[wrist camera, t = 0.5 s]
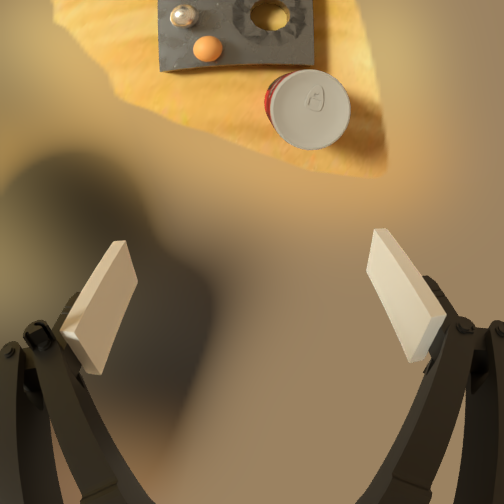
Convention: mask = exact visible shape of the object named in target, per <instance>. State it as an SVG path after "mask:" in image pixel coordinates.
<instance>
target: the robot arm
mask: <svg viewBox="0 0 504 504" xmlns="http://www.w3.org/2000/svg"><path fill="white" fill-rule="evenodd" d="M366 271H367V274H368V276H369V278H370V279H371V282H372V284H373V285H374V288H375V289H376V291H377V294H378V295H379V298H380V300H381V302H382V304H383V306H384V308H385V310H386V312H387V314H388V317H389V318H390V321H391V323H392V325H393V327H394V330H395V332H396V334H397V336H398V339H399V340H400V343H401V345H402V347H403V350H404V352H405V355H406V357H407V359H408V361H409V363H411V362H416V361H421V360H424V358H425V356H426V354H427V353H428V351H429V353H430V355H431V357H432V358H431V360H430V361H429V363H428V365H427V367H426V368H425V370H424V371H423V373H425V375H424V377H423V380H422V382H421V385H420V387H419V390H418V392H417V395H416V397H415V399H414V402H413V404H412V406H411V408H410V411H409V413H408V415H407V417H406V419H405V422H404V424H403V426H402V428H401V430H400V432H399V434H398V436H397V438H396V440H395V442H394V444H393V445H392V447H391V449H390V451H389V453H388V455H387V457H386V458H385V460H384V462H383V464H382V465H381V467H380V469H379V471H378V472H377V474H376V476H375V477H374V479H373V480H372V482H371V484H370V485H369V487H368V488H367V490H366V491H365V493H364V494H363V495H362V496H361V497H360V498H359V499H358V501H357V502H356V503H355V504H429V502H430V500H431V497H432V492H431V490H430V488H431V485H432V482H433V480H434V478H435V476H436V473H437V471H438V469H439V466H440V464H441V462H442V459H443V457H444V454H445V452H446V449H447V446H448V444H449V441H450V438H451V435H452V432H453V429H454V426H455V423H456V420H457V417H458V414H459V411H460V407H461V403H462V400H463V396H464V392H465V389H466V407H465V426H464V438H463V448H462V458H461V465H460V472H459V477H458V483H457V488H456V493H455V498H454V503H453V504H504V322H502V321H499V320H495V321H493V322H492V323H491V325H490V326H489V328H488V329H486V328H476V327H475V325H474V324H473V323H472V322H471V320H469V319H467V318H465V317H460V316H458V314H457V313H456V311H455V310H454V308H453V306H452V305H451V303H450V302H449V300H448V299H447V297H445V295H444V293H443V292H442V291H441V289H440V288H439V286H438V284H437V283H436V282H435V281H434V280H433V279H432V278H430V277H429V276H421V274H420V273H419V271H418V270H417V269H416V267H415V266H414V264H413V263H412V262H411V260H410V259H409V257H408V256H407V255H406V253H405V252H404V251H403V249H402V248H401V246H400V245H399V244H398V243H397V241H396V240H395V238H394V237H393V236H392V234H391V233H390V232H389V231H388V229H387V228H381V229H374V233H373V238H372V244H371V249H370V255H369V260H368V265H367V270H366ZM137 283H138V280H137V277H136V274H135V271H134V268H133V264H132V261H131V258H130V254H129V251H128V247H127V244H126V241H114V242H113V243H112V244H111V246H110V247H109V249H108V250H107V252H106V253H105V255H104V256H103V258H102V259H101V261H100V262H99V264H98V265H97V267H96V269H95V270H94V272H93V274H92V275H91V277H90V278H89V280H88V282H87V283H86V285H85V286H84V288H83V290H82V291H81V292H77V293H76V294H74V295H73V296H72V297H71V298H70V299H69V301H68V302H67V304H66V306H65V308H64V309H63V311H62V314H60V316H59V318H58V319H57V322H56V323H55V325H54V327H53V328H52V330H51V329H50V328H49V326H48V325H47V323H46V321H43V320H37V321H35V322H32V323H31V324H30V325H28V327H27V328H26V329H25V331H24V333H23V338H24V340H25V341H26V343H27V344H28V346H29V348H23V349H22V348H21V346H20V345H19V344H18V342H15V341H12V342H9V343H7V344H5V345H4V346H3V348H2V349H1V351H0V504H63V499H62V495H61V491H60V487H59V481H58V477H57V471H56V466H55V459H54V453H53V445H52V437H51V429H50V419H51V422H52V425H53V428H54V431H55V434H56V437H57V439H58V442H59V445H60V447H61V449H62V452H63V455H64V457H65V459H66V462H67V464H68V466H69V469H70V471H71V473H72V475H73V477H74V479H75V481H76V483H77V486H78V487H79V489H80V492H81V494H82V499H81V500H80V504H155V503H154V502H153V501H152V500H151V499H150V497H149V496H148V495H147V494H146V492H145V491H144V489H143V488H142V486H141V485H140V483H139V482H138V481H137V479H136V477H135V476H134V474H133V473H132V471H131V470H130V468H129V467H128V465H127V463H126V462H125V460H124V458H123V457H122V455H121V453H120V452H119V450H118V448H117V447H116V445H115V443H114V441H113V440H112V438H111V436H110V434H109V432H108V430H107V428H106V426H105V424H104V423H103V421H102V419H101V417H100V415H99V413H98V410H97V409H96V406H95V405H94V402H93V400H92V398H91V396H90V393H89V391H88V389H87V387H86V384H85V382H84V380H83V377H82V376H81V374H80V373H79V371H80V368H81V366H82V367H83V368H84V369H85V371H86V372H87V373H90V374H96V375H101V374H102V371H103V368H104V366H105V363H106V360H107V357H108V355H109V352H110V349H111V346H112V344H113V341H114V339H115V336H116V334H117V331H118V328H119V326H120V323H121V321H122V318H123V316H124V313H125V311H126V309H127V306H128V304H129V301H130V299H131V296H132V294H133V292H134V290H135V287H136V285H137Z"/></svg>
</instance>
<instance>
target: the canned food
mask: <svg viewBox="0 0 504 504" xmlns="http://www.w3.org/2000/svg"><path fill="white" fill-rule="evenodd" d="M264 103H265V111H266V114H267V116H268V118H269V120H270V122H271V123H272V125H273V127H274V128H275V130H276V131H277V133H278V134H279V135H280V136H281V137H282V138H283V139H284V140H285V141H286V142H288V143H289V144H291V145H293V146H295V147H297V148H300V149H305V150H318V149H322V148H325V147H327V146H329V145H331V144H333V143H334V142H336V141H337V140H338V139H339V138H340V137H341V136H342V135H343V133H344V131H345V130H346V128H347V126H348V123H349V120H350V115H351V105H350V100H349V97H348V94H347V92H346V90H345V89H344V87H343V86H342V84H341V83H340V82H339V81H338V80H337V79H336V78H334V77H333V76H331V75H330V74H327V73H325V72H323V71H319V70H314V69H305V70H299V71H295V72H291V73H288V74H285V75H283V76H280V77H279V78H277V79H276V80H274V82H273V83H272V84H271V85H270V86H269V88H268V90H267V92H266V95H265V101H264Z"/></svg>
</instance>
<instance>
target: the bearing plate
mask: <svg viewBox="0 0 504 504" xmlns="http://www.w3.org/2000/svg"><path fill="white" fill-rule="evenodd" d="M263 3H273V4H275V5H277V6H279V7H281V8H282V9H283V10H284V12H285V13H286V14H287V24H286V25H285V27H283V28H281V29H279V30H276V31H265V30H263V29H261V28H259V27H257V26H255V24H254V23H253V22H252V20H251V19H250V13H251V12H252V10H253V9H254V8H255V7H256V6H258V5H261V4H263ZM181 4H190V5H193V6H194V7H195V8H196V9H197V10H198V13H199V17H198V20H197V22H196V23H195V24H194V25H193V26H191V27H189V28H186V29H181V28H177V27H175V26H174V25H173V24H172V23H171V21H170V14H171V12H172V10H173V9H174V8H175V7H177V6H179V5H181ZM204 36H213V37H216V38H217V39H219V40H220V42H221V44H222V53H221V55H220V56H219V57H218V58H217V59H215V60H213V61H210V62H204V61H201V60H199V59H198V58H196V56H195V55H194V52H193V47H194V44H195V42H196V41H197V40H198V39H199V38H201V37H204ZM158 41H159V64H160V72H171V71H179V70H187V69H196V68H207V67H220V66H238V65H296V66H313V65H314V27H313V1H312V0H158Z"/></svg>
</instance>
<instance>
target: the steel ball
mask: <svg viewBox="0 0 504 504" xmlns="http://www.w3.org/2000/svg"><path fill="white" fill-rule="evenodd" d="M198 17H199V13H198V10H197V9H196V8H195V7H194V6H193V5H190V4H181V5H179V6H177V7H175V8H174V9H173V10H172V12H171V14H170V21H171V23H172V24H173V25H174V26H175V27H177V28H181V29H186V28H189V27H191V26H193V25H194V24H195V23H196V22H197V20H198Z"/></svg>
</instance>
